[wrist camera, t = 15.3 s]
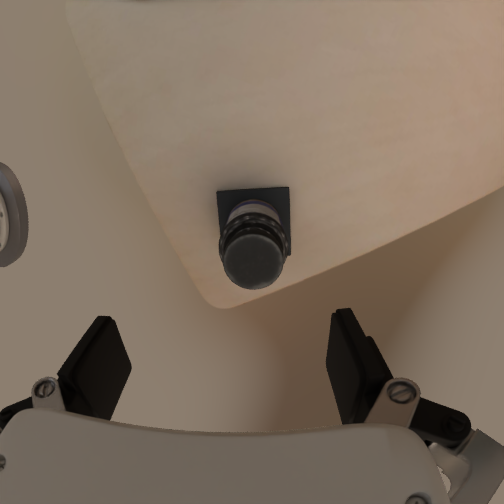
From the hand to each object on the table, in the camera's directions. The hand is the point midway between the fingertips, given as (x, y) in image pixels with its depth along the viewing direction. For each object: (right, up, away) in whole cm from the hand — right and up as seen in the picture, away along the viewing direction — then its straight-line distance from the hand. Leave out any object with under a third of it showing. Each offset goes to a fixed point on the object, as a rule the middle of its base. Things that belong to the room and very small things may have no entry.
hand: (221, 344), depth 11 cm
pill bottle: (+2, +7, +21) cm, 22 cm away
